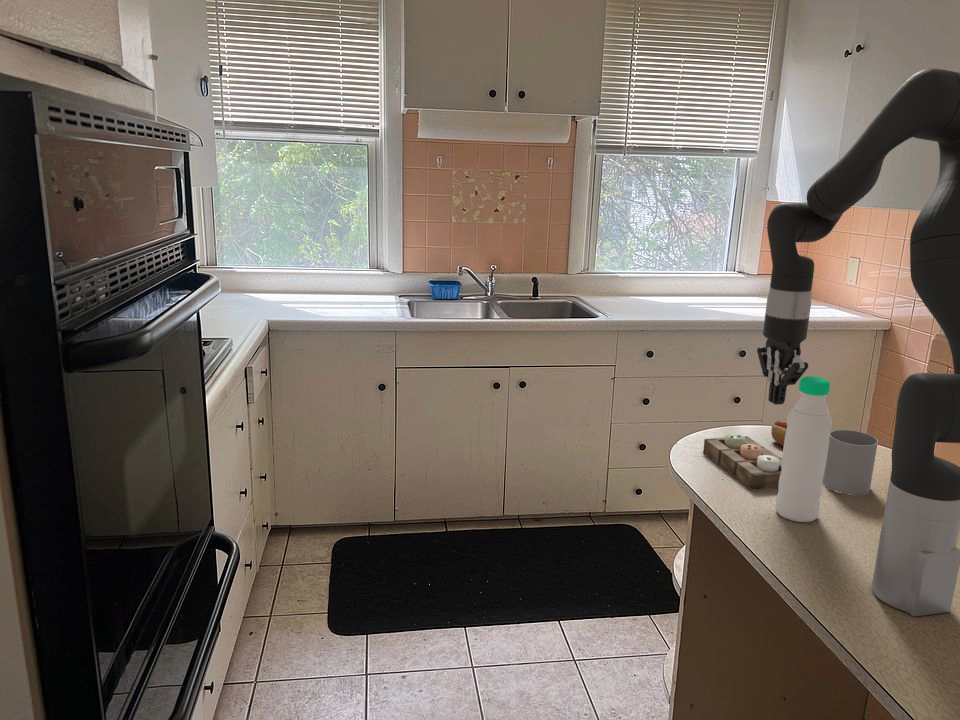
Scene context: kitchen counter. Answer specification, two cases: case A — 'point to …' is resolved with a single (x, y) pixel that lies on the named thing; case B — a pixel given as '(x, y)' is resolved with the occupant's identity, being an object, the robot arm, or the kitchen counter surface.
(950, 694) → the kitchen counter surface
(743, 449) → the button three
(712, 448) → the wooden compartment tray
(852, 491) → the cup
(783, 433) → the food
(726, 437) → the button two
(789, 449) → the water bottle
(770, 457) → the button one
